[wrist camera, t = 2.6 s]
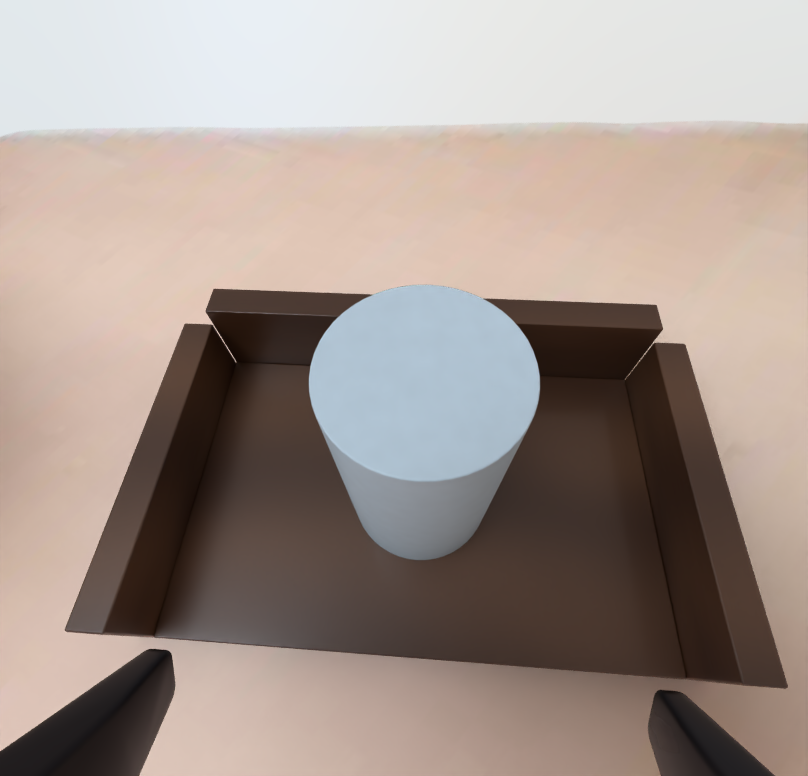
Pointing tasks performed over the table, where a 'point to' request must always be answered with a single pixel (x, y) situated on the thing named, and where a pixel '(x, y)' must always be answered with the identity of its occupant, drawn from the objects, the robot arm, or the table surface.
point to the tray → (474, 561)
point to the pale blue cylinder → (423, 411)
